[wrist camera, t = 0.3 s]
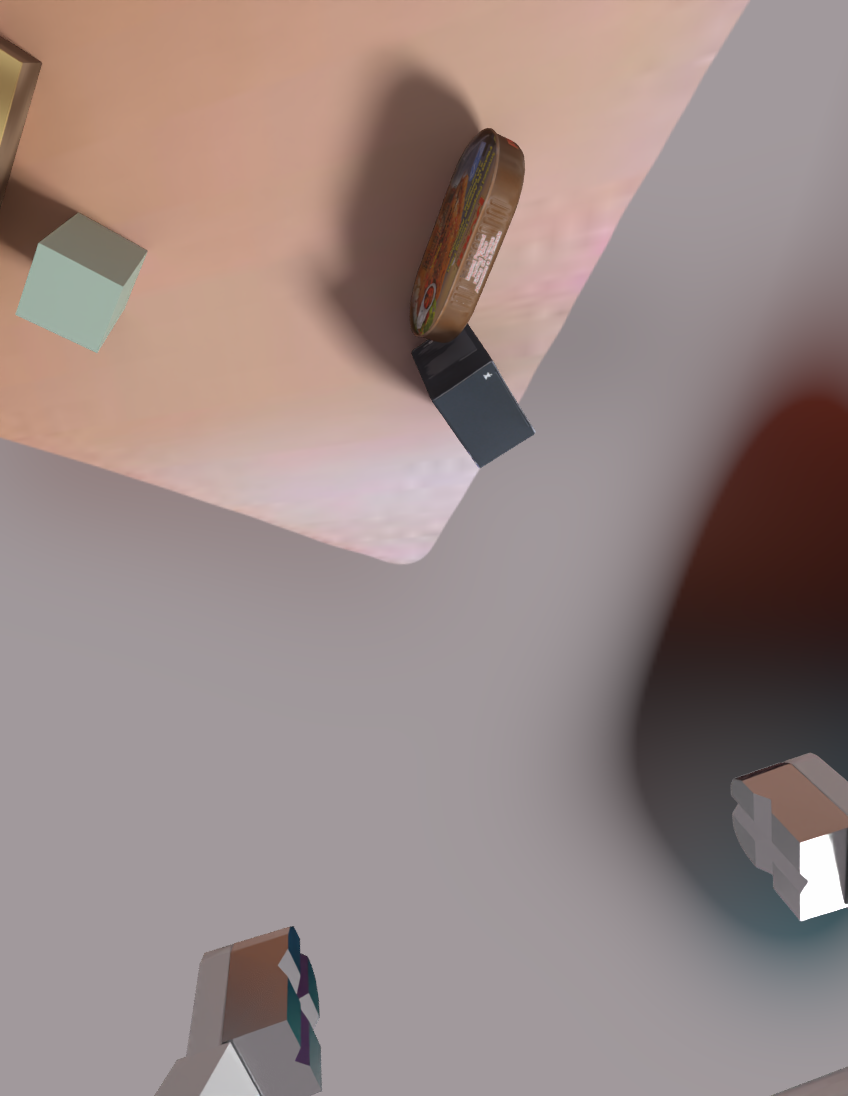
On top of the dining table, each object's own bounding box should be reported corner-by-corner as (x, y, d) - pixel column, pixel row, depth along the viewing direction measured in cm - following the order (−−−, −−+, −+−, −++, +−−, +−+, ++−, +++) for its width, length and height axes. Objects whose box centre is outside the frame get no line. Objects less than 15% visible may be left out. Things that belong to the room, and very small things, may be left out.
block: (78, 212, 47) (38, 242, 39) (147, 250, 50) (123, 286, 42) (57, 274, 49) (15, 314, 42) (124, 308, 52) (97, 353, 44)
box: (408, 352, 58) (430, 400, 50) (462, 314, 57) (494, 358, 48) (452, 416, 63) (479, 471, 54) (503, 383, 61) (538, 433, 53)
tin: (472, 121, 48) (502, 131, 42) (508, 139, 50) (544, 151, 43) (401, 315, 56) (417, 350, 49) (434, 327, 57) (454, 362, 50)
